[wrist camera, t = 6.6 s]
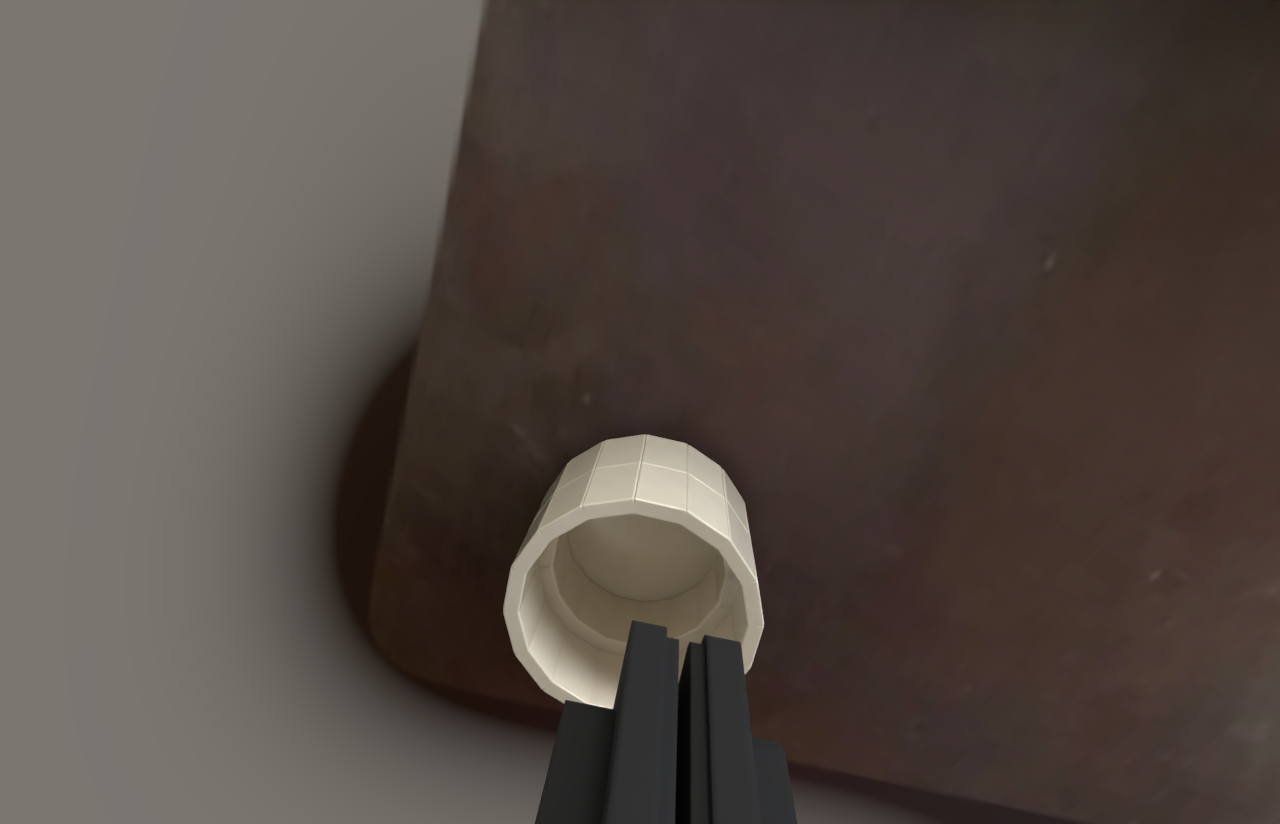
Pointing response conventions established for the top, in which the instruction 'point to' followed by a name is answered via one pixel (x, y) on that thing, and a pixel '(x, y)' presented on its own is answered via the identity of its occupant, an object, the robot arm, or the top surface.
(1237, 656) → the top surface
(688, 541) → the cup
